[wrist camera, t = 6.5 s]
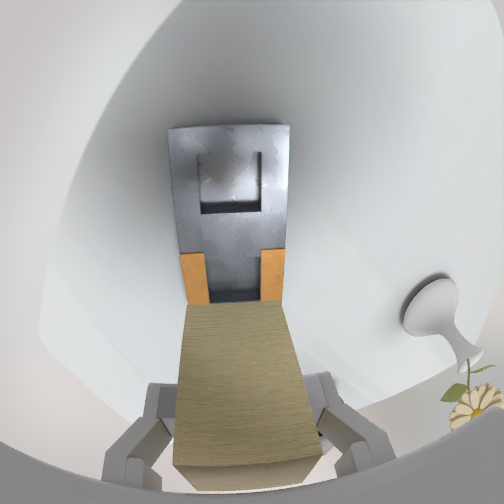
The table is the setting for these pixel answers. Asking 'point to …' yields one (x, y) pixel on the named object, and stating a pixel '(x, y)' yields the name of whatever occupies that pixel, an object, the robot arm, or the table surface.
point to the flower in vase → (442, 322)
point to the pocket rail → (231, 209)
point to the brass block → (241, 401)
